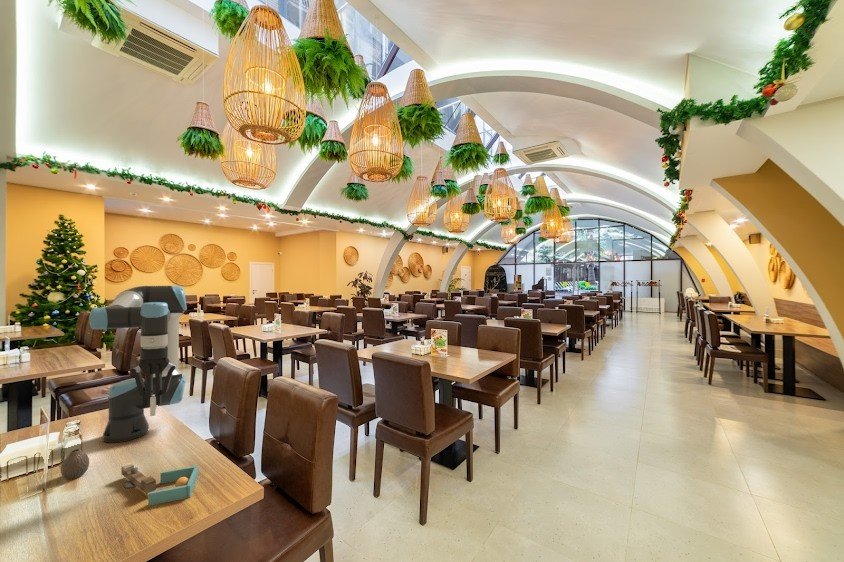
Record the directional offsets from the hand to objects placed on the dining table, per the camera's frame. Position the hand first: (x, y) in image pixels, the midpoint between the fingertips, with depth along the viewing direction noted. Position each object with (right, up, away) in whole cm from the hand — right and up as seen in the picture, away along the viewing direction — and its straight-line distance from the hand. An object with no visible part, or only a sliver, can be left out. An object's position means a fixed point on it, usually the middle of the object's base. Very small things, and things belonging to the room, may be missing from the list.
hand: (153, 414), depth 120 cm
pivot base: (-2, -20, -6) cm, 21 cm away
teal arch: (+14, -21, -9) cm, 27 cm away
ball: (+16, -19, -9) cm, 26 cm away
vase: (-25, -20, -2) cm, 32 cm away
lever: (+1, -20, -8) cm, 21 cm away
